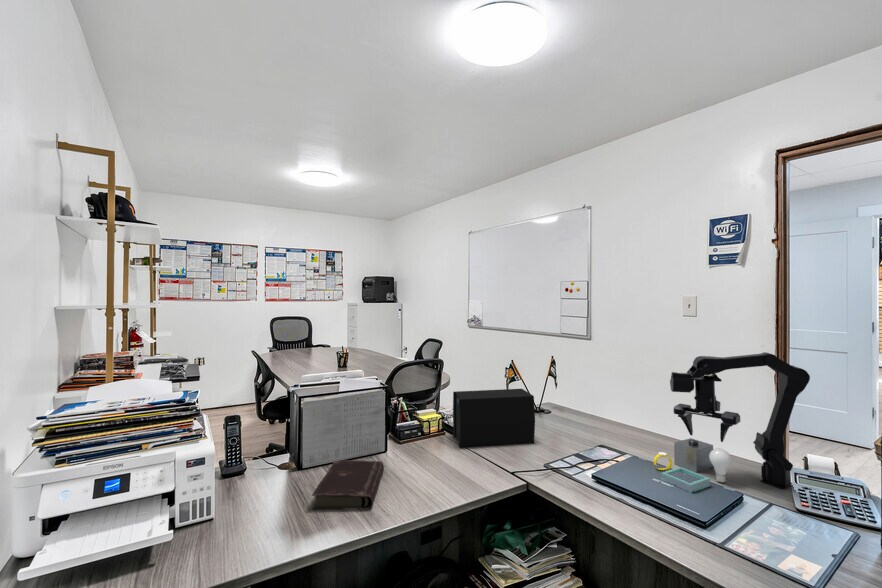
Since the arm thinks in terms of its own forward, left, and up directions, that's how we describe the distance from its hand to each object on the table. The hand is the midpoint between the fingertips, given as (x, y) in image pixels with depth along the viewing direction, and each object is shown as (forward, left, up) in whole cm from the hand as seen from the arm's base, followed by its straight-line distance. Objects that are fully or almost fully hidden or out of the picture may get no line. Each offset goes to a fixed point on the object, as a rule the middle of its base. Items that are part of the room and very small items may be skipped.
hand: (706, 438), depth 140 cm
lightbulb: (-5, +1, -13) cm, 14 cm away
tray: (0, +12, -13) cm, 18 cm away
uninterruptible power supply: (+63, +46, -13) cm, 78 cm away
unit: (+7, -4, -13) cm, 15 cm away
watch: (+10, +9, -13) cm, 19 cm away
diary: (+47, +113, -13) cm, 123 cm away
